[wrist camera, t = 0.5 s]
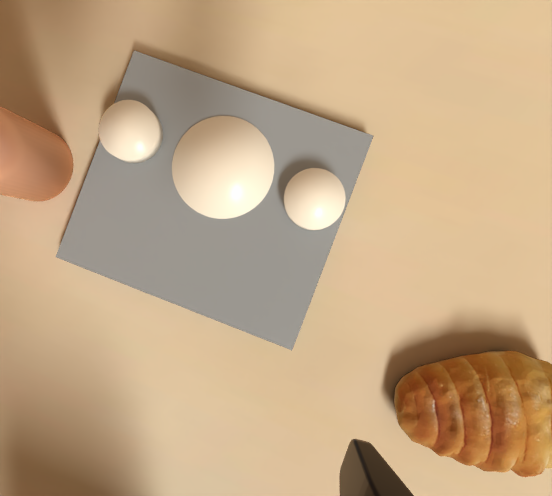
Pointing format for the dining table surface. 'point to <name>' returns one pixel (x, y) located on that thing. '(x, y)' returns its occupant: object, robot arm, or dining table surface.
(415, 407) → the pastry
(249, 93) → the board
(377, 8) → the dining table surface
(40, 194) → the canister
